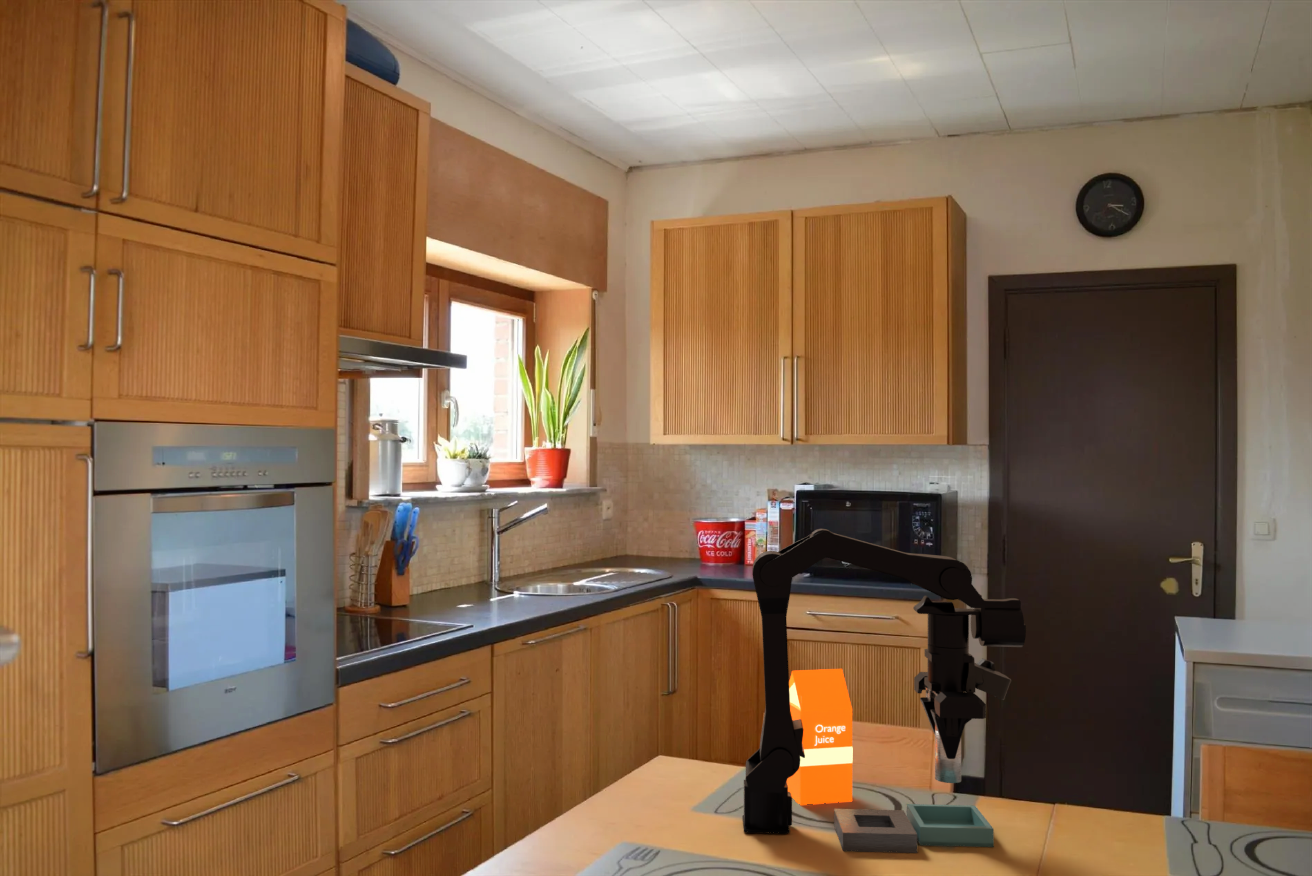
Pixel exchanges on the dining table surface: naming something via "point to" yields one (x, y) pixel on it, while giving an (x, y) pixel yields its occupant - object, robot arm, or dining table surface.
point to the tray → (950, 825)
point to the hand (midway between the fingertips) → (947, 754)
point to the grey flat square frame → (875, 831)
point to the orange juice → (822, 737)
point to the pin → (946, 763)
